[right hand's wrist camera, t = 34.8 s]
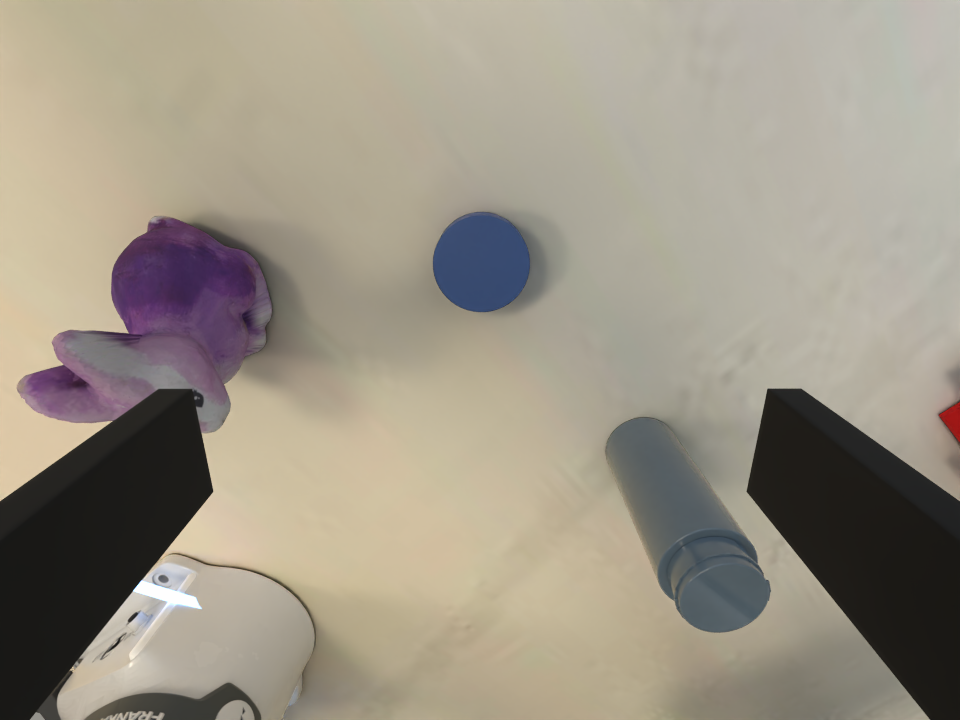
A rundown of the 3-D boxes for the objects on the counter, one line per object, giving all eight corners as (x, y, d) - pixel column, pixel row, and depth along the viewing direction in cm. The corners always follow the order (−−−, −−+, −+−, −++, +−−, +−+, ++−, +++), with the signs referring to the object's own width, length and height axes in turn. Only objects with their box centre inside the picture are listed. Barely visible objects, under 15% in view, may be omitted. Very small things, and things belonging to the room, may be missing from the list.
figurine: (275, 382, 40) (164, 503, 26) (137, 330, 39) (-59, 427, 24) (313, 266, 37) (211, 331, 23) (165, 205, 36) (-41, 234, 21)
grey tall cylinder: (613, 486, 43) (680, 649, 29) (598, 428, 42) (661, 572, 27) (681, 468, 43) (784, 626, 28) (668, 408, 41) (772, 544, 26)
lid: (523, 304, 38) (526, 314, 36) (435, 301, 38) (432, 310, 36) (530, 213, 36) (533, 217, 34) (436, 210, 36) (433, 213, 34)
